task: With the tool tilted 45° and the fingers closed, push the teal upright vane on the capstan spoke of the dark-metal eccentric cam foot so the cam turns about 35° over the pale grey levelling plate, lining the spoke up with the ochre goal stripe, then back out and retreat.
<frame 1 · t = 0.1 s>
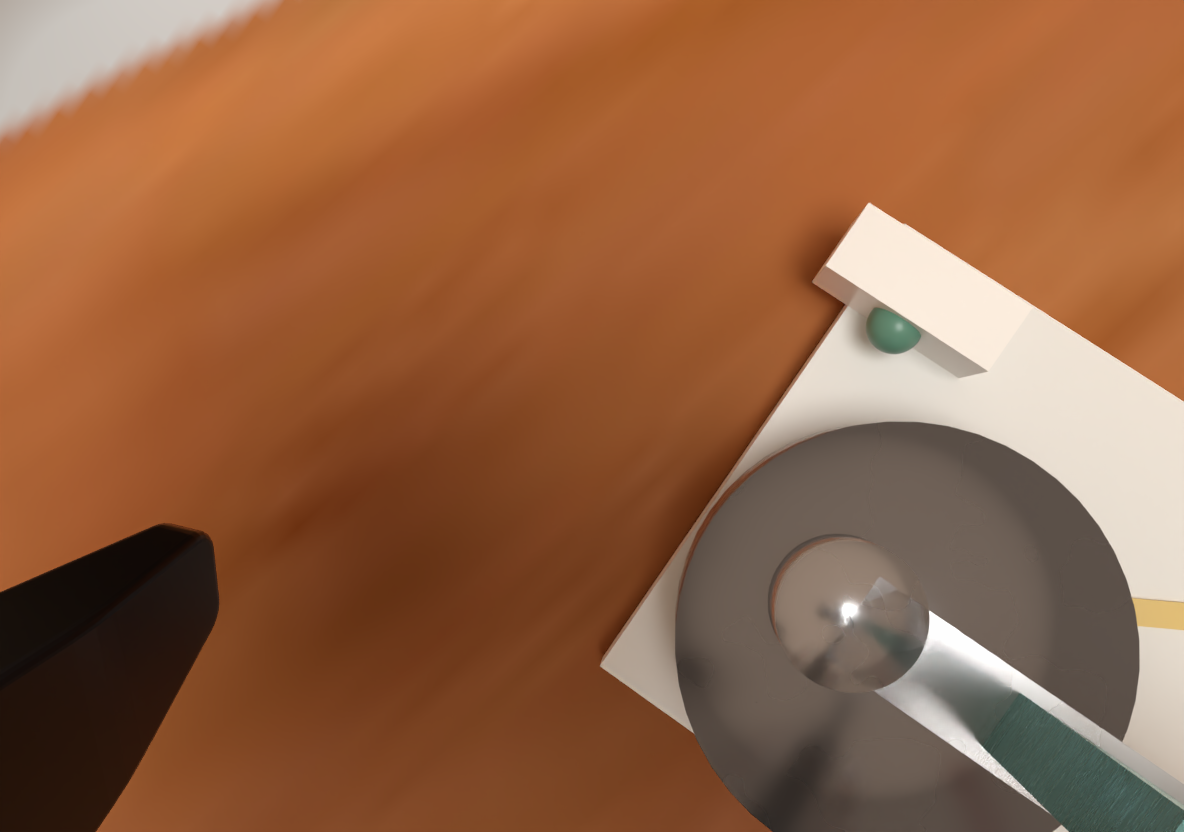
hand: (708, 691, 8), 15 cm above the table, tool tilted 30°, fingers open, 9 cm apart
levelling plate: (810, 576, 22), on the table
cam foot: (1094, 787, 16), point 6 cm above the table, hinge at 0.0°
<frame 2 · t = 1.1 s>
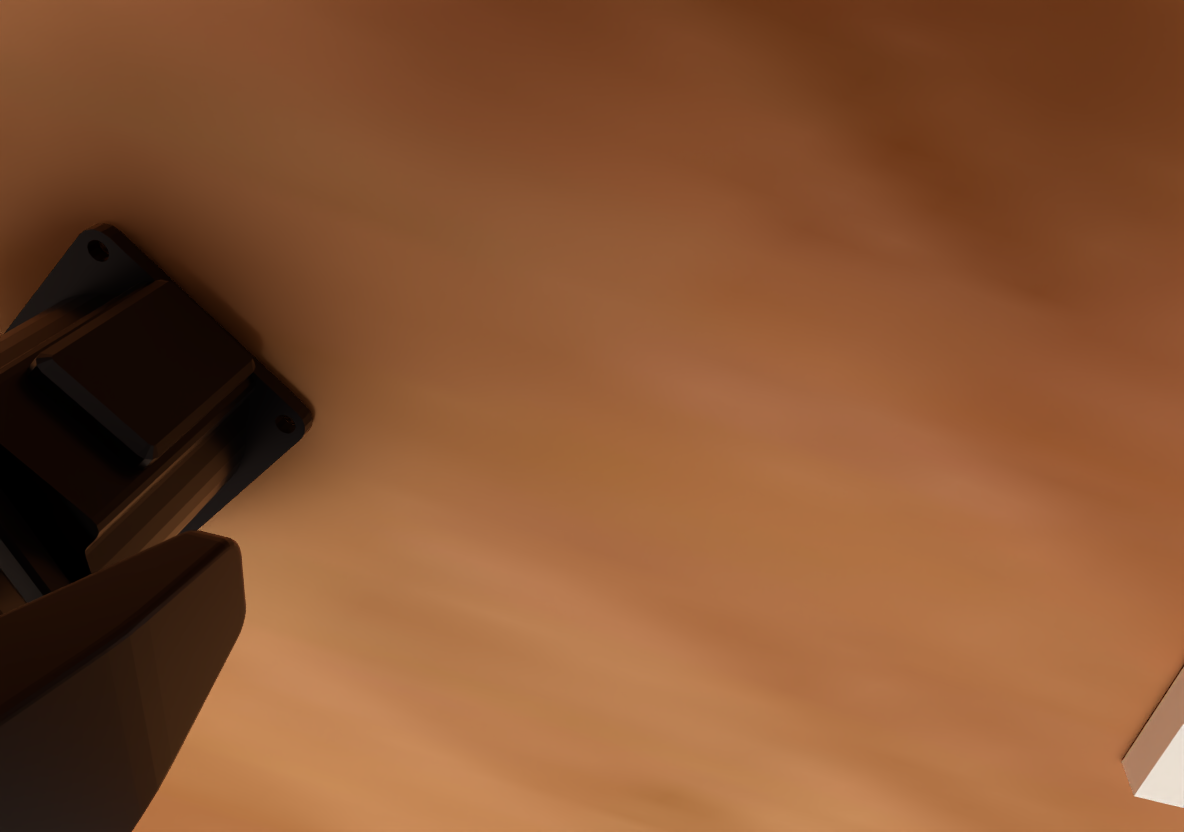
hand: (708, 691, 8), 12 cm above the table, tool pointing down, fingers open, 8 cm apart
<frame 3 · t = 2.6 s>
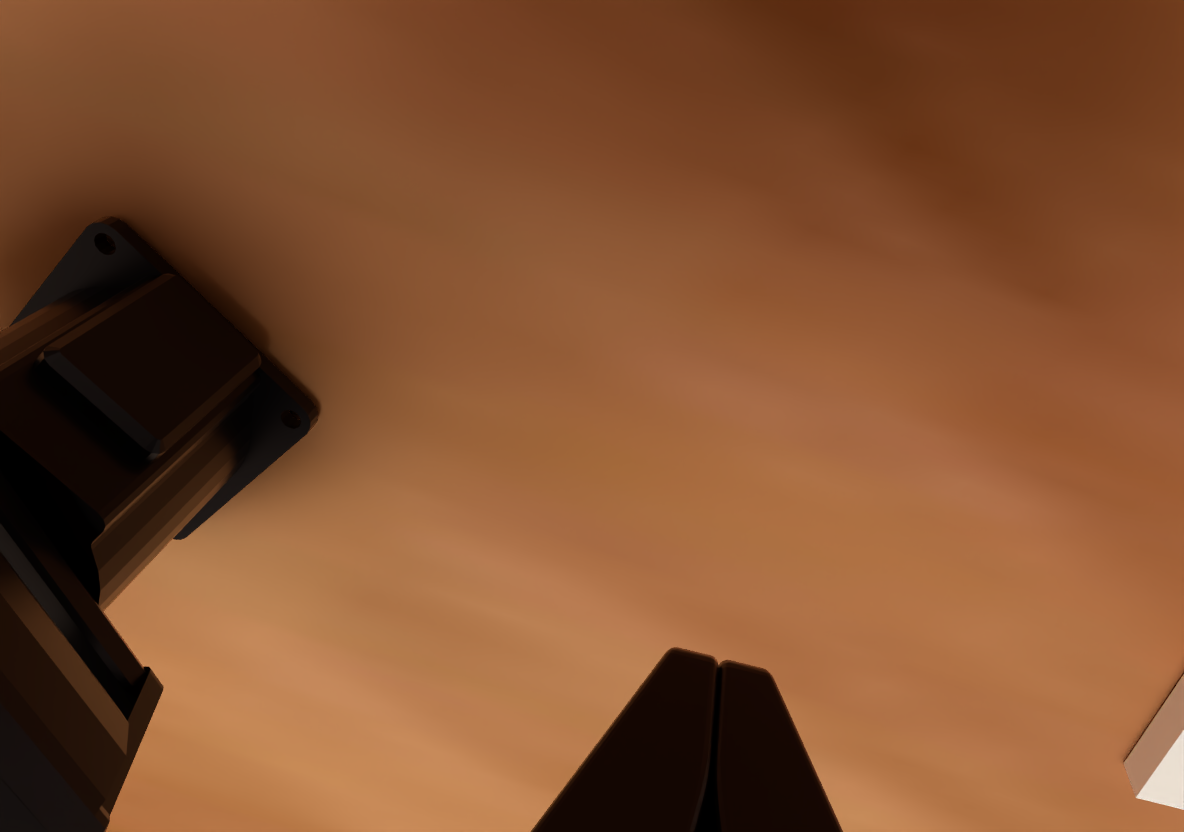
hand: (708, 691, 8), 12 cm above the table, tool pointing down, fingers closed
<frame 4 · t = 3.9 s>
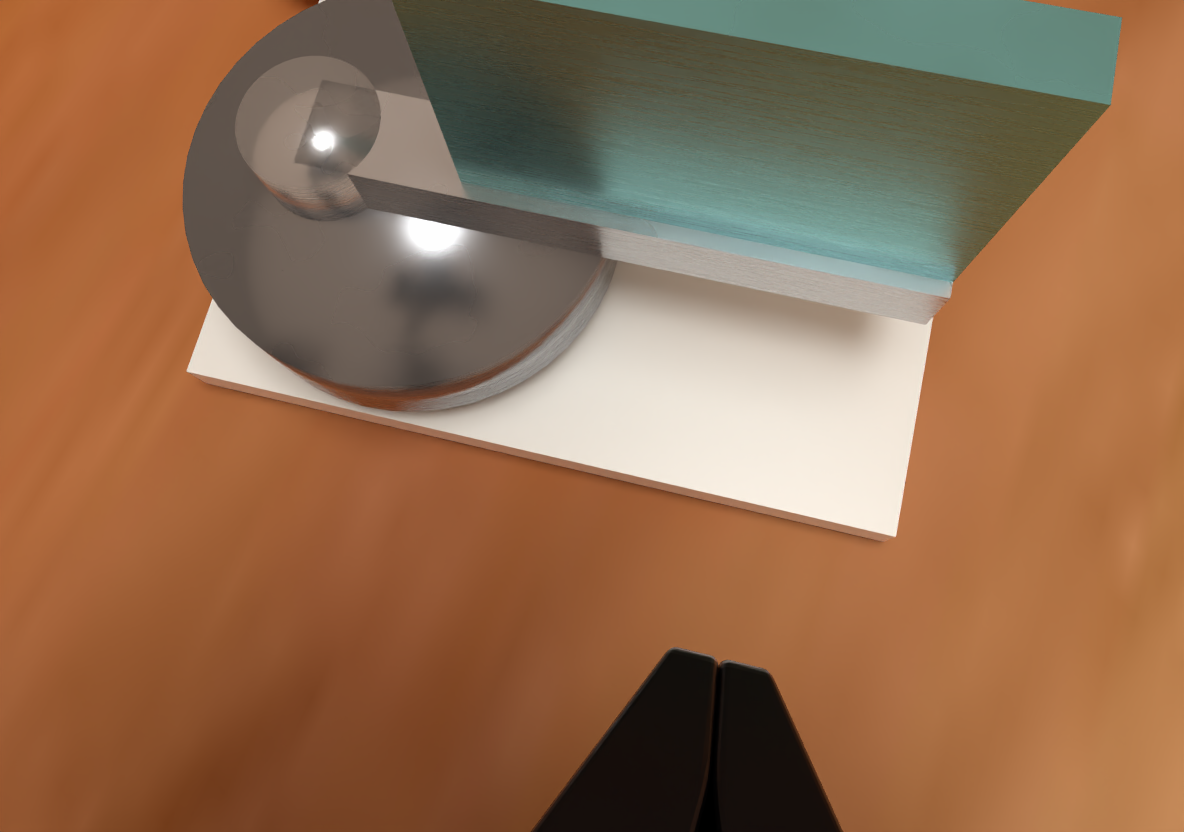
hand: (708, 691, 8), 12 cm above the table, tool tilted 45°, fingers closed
levelling plate: (381, 237, 22), on the table
cam foot: (536, 137, 16), point 6 cm above the table, hinge at 0.0°
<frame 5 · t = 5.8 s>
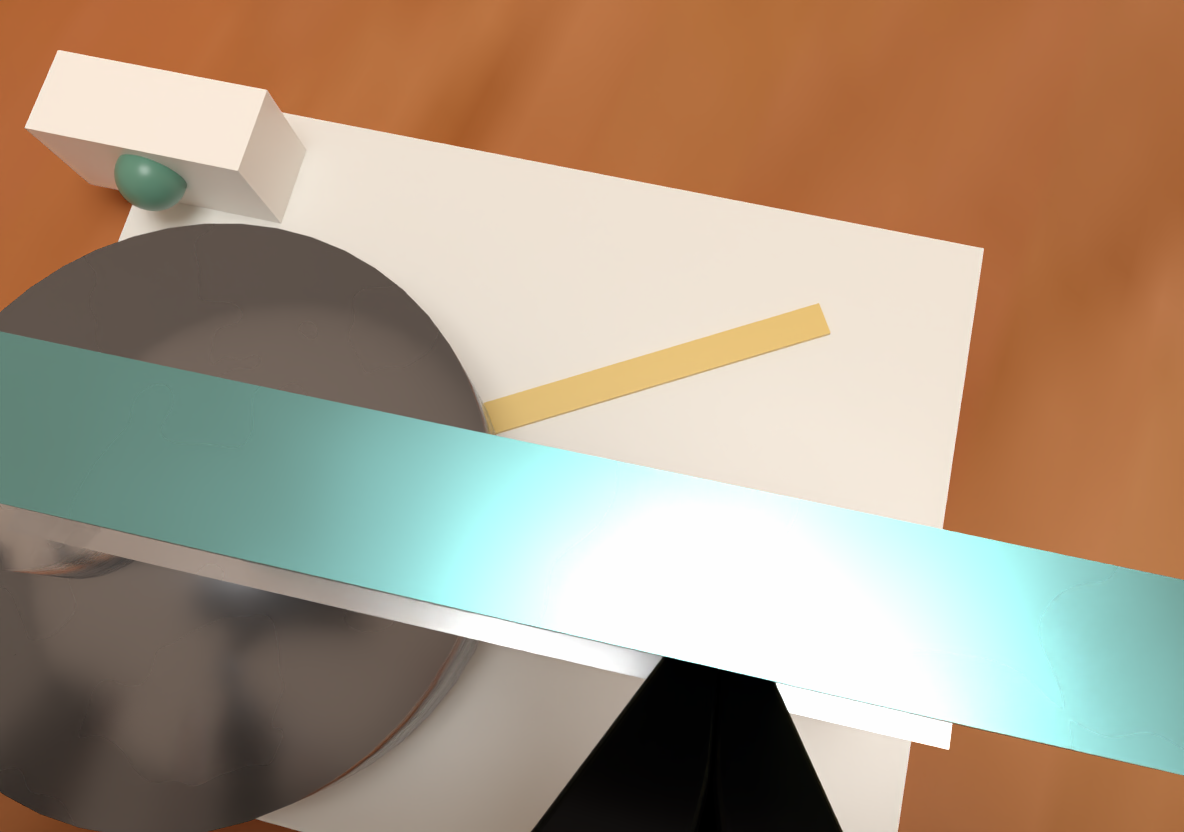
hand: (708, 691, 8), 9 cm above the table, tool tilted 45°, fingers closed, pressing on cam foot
levelling plate: (206, 519, 17), on the table
cam foot: (333, 527, 11), point 6 cm above the table, hinge at 0.9°, touching gripper
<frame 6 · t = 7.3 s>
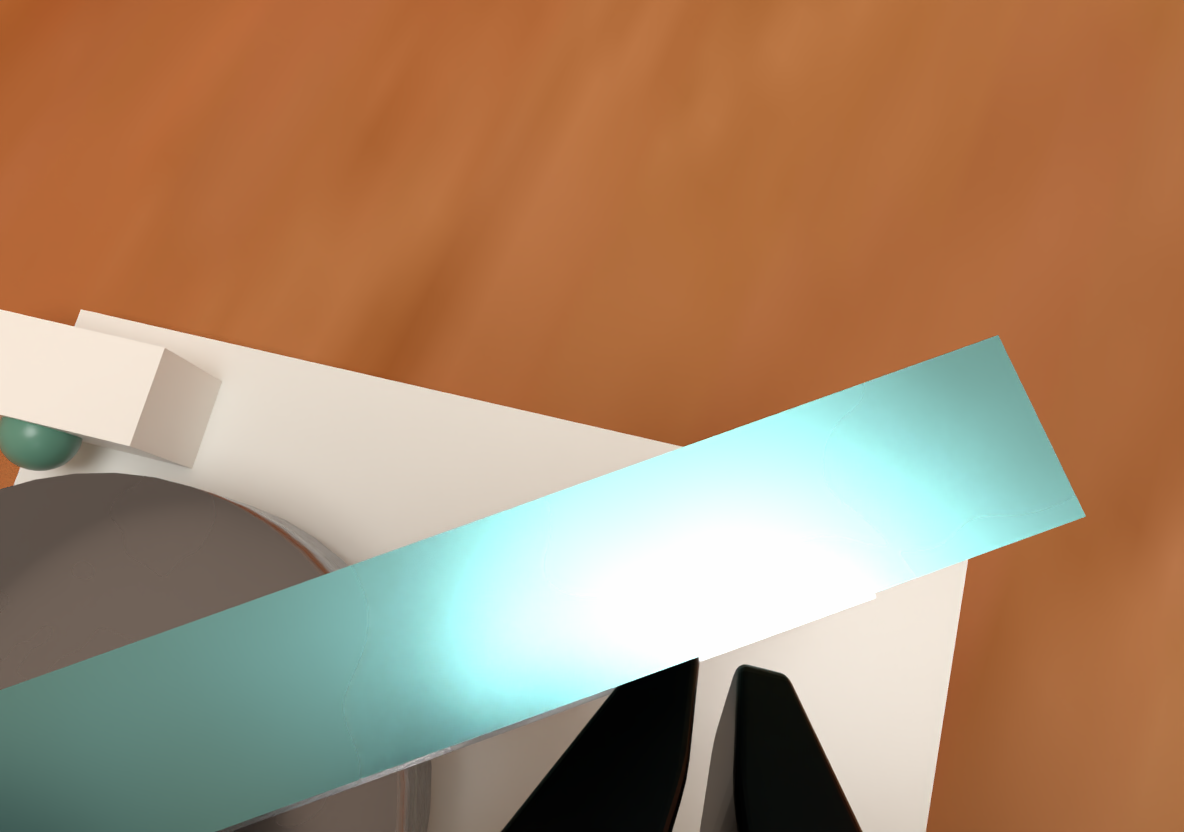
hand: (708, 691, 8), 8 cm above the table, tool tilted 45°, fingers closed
levelling plate: (110, 800, 16), on the table
cam foot: (194, 756, 10), point 6 cm above the table, hinge at 33.1°, touching gripper
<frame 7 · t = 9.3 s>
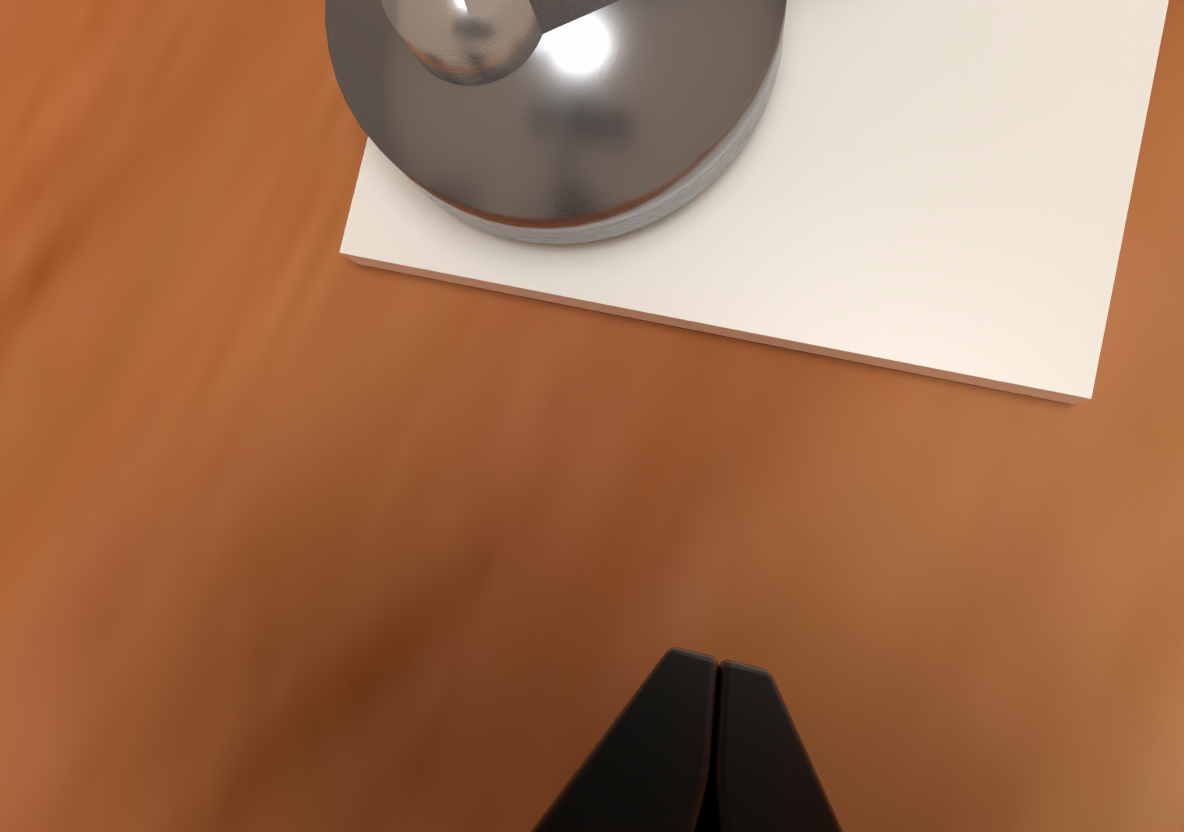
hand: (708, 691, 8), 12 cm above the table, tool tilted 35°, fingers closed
levelling plate: (521, 101, 21), on the table
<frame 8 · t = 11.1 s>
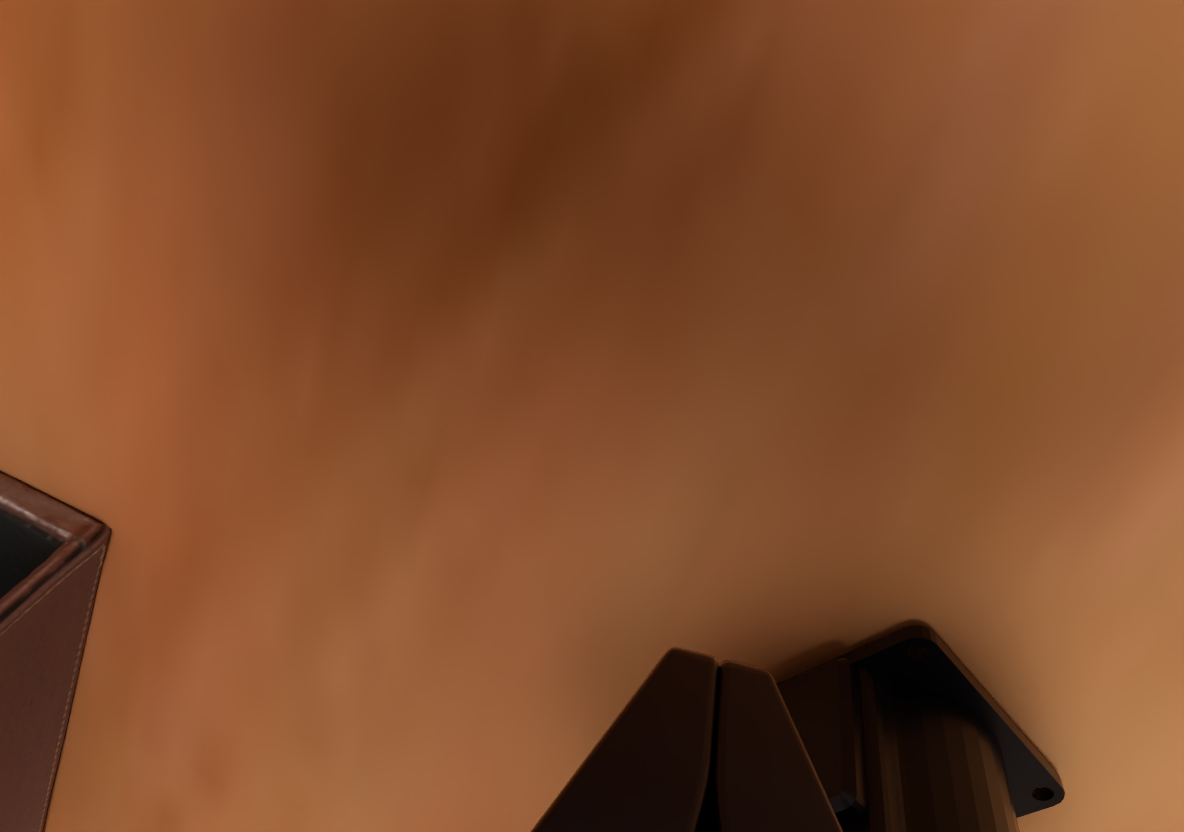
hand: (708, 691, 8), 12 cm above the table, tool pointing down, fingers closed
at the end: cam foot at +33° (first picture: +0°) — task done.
